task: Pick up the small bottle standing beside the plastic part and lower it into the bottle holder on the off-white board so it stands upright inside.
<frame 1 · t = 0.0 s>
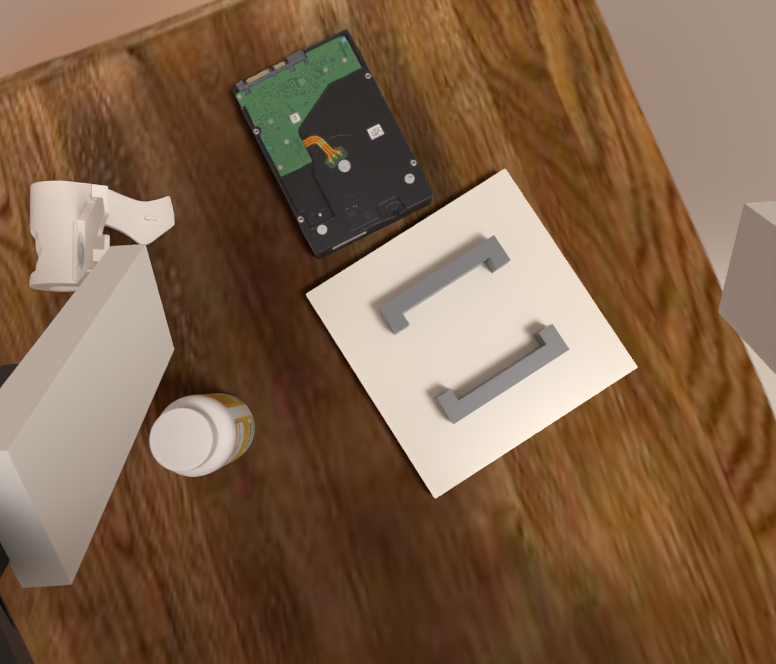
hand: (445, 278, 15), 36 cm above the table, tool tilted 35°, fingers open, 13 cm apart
bottle holder: (468, 332, 51), on the table
plastic part: (109, 244, 52), on the table
supplement bottle: (221, 428, 50), on the table
disk drive: (334, 152, 53), on the table
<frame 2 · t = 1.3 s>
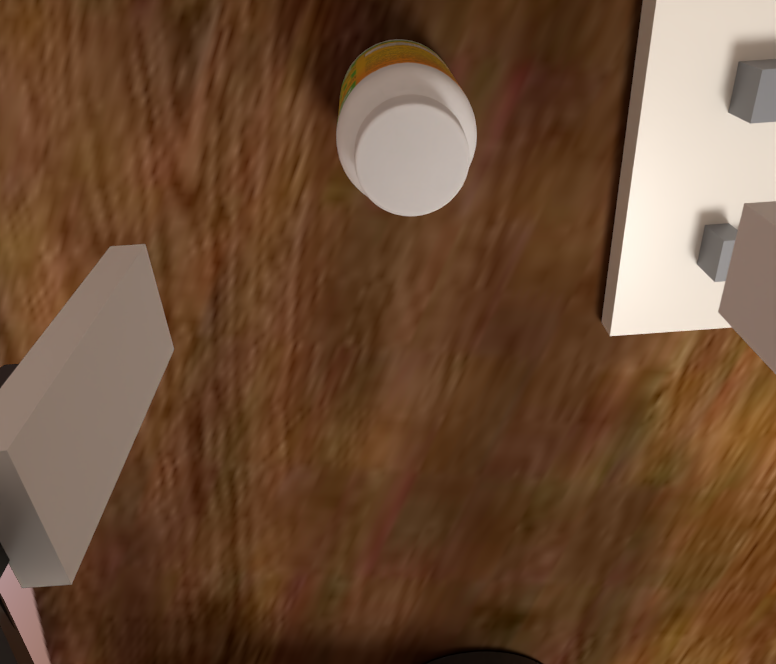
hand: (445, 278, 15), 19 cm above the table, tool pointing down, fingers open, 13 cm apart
supplement bottle: (397, 99, 31), on the table
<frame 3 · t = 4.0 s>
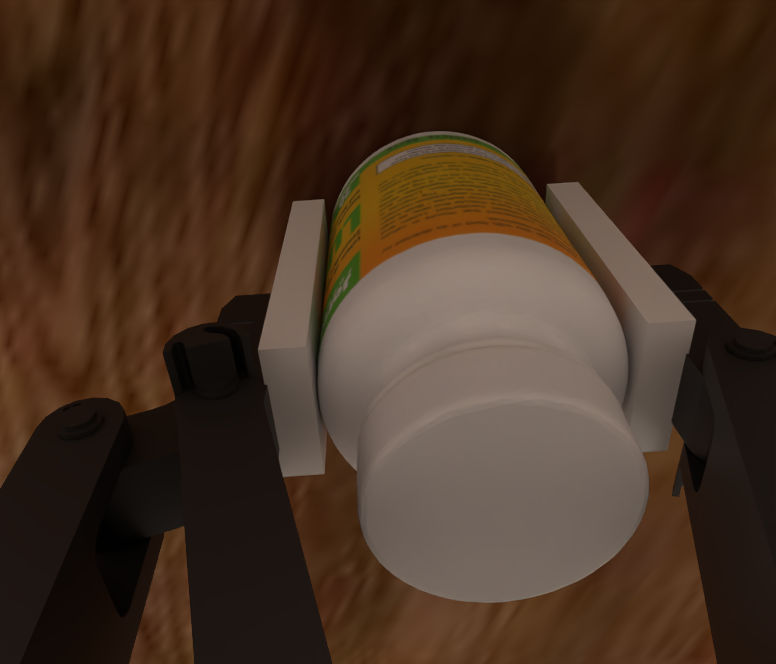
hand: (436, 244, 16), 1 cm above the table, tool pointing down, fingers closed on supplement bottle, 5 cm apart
supplement bottle: (433, 227, 17), on the table, touching gripper
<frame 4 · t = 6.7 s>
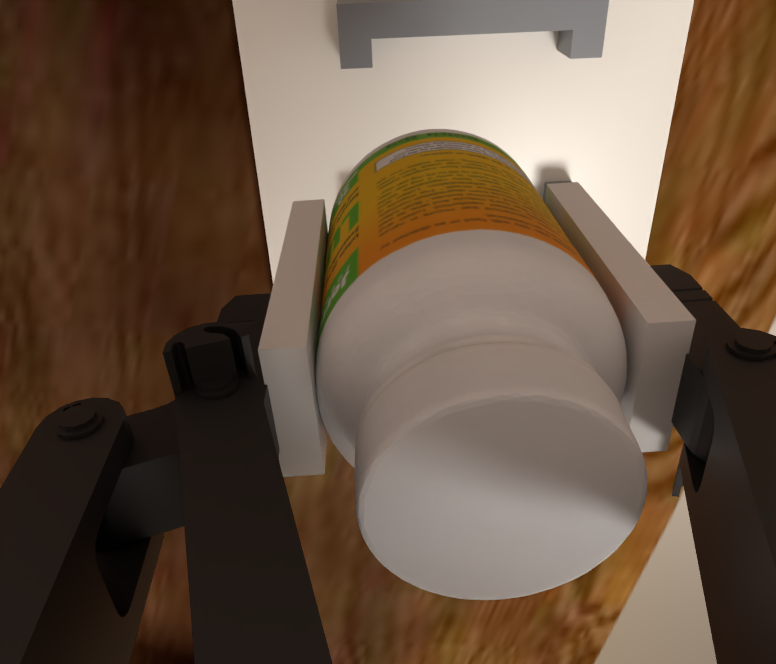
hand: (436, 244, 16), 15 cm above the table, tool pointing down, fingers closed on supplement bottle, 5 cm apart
bottle holder: (458, 114, 29), on the table
supplement bottle: (431, 225, 17), point 14 cm above the table, touching gripper
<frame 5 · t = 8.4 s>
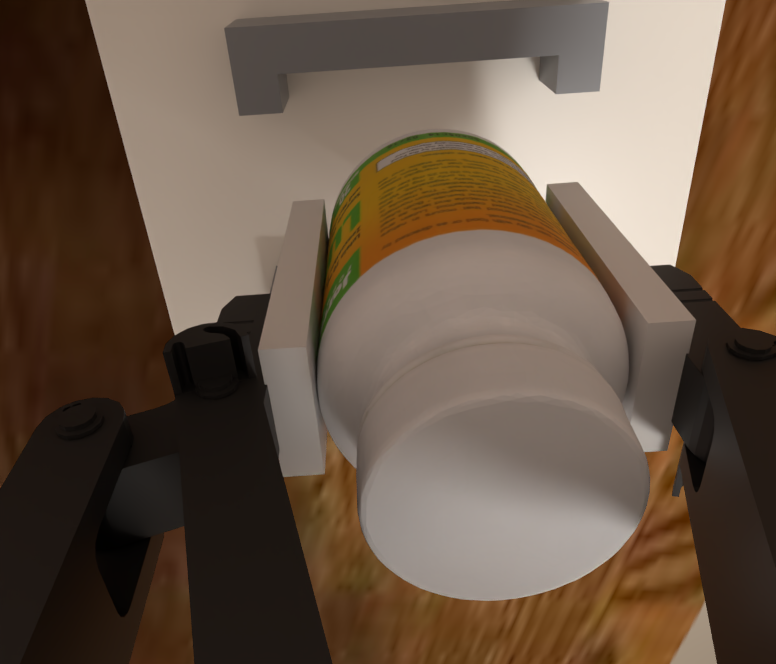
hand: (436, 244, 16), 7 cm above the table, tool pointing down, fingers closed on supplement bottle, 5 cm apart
bottle holder: (413, 163, 22), on the table
supplement bottle: (433, 225, 17), point 6 cm above the table, touching gripper
when the fingers open (3 cm above the table, at t = 9.8 s): supplement bottle stays where it is, resting on bottle holder.
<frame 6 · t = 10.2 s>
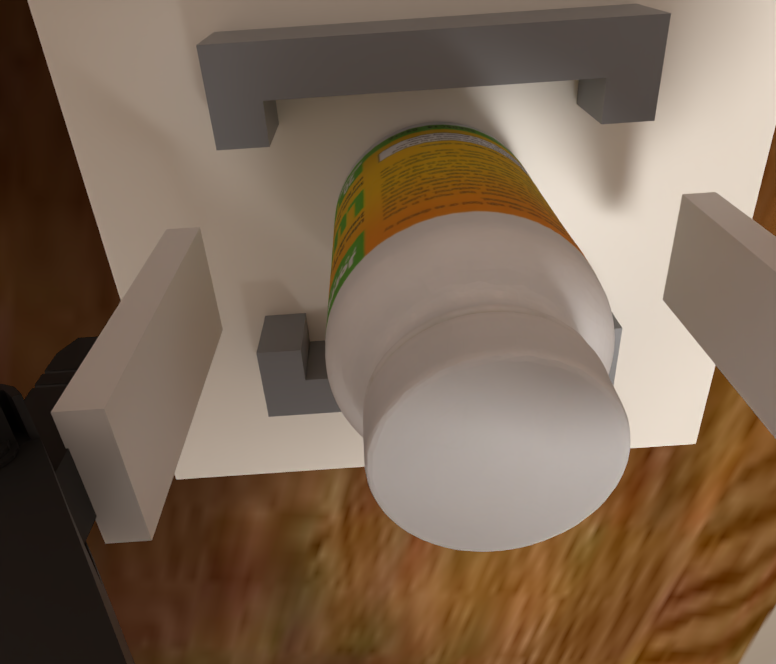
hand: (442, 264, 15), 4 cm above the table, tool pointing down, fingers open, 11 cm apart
bottle holder: (425, 197, 19), on the table
supplement bottle: (432, 214, 18), point 1 cm above the table, touching bottle holder
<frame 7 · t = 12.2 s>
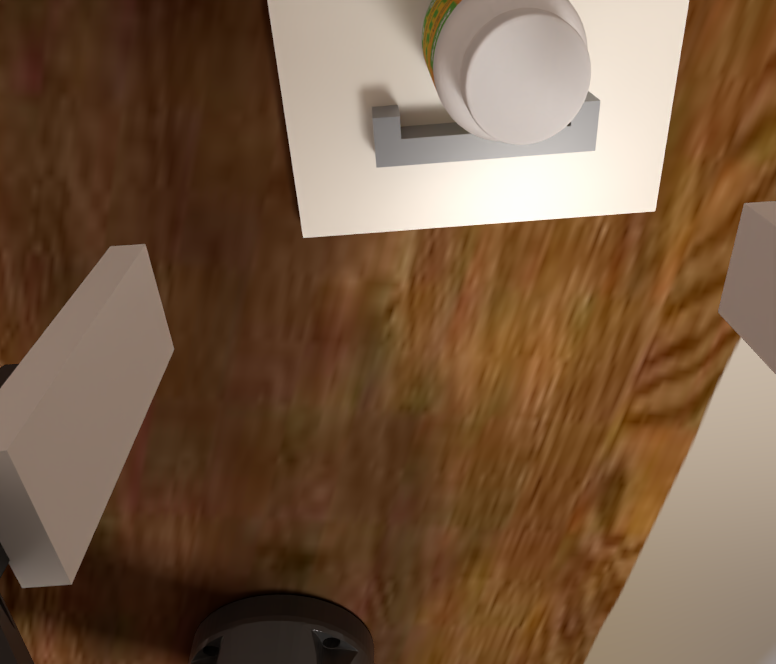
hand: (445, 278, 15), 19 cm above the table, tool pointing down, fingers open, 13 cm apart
bottle holder: (474, 28, 30), on the table
supplement bottle: (481, 33, 29), point 1 cm above the table, touching bottle holder
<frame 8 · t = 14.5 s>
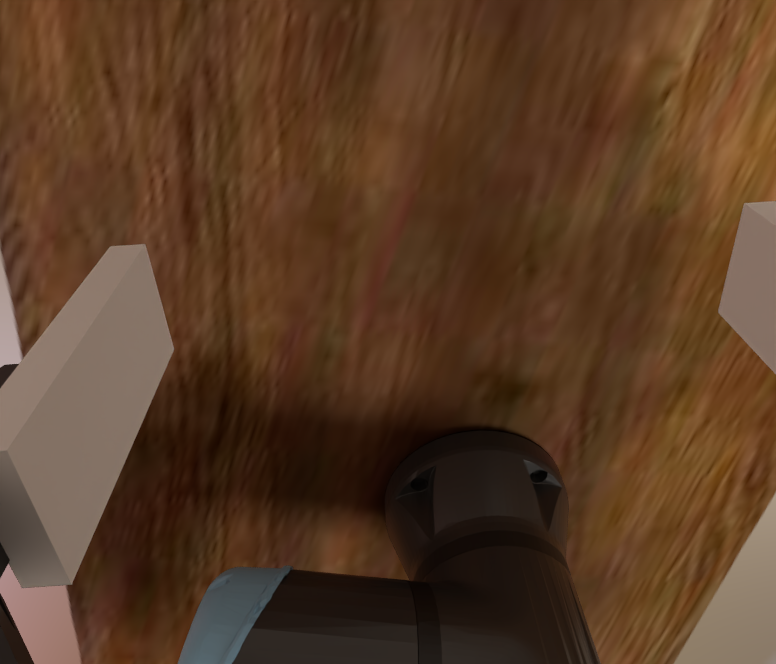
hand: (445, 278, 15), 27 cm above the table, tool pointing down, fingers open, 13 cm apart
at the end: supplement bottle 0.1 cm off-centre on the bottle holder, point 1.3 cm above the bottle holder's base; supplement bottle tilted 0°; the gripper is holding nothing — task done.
